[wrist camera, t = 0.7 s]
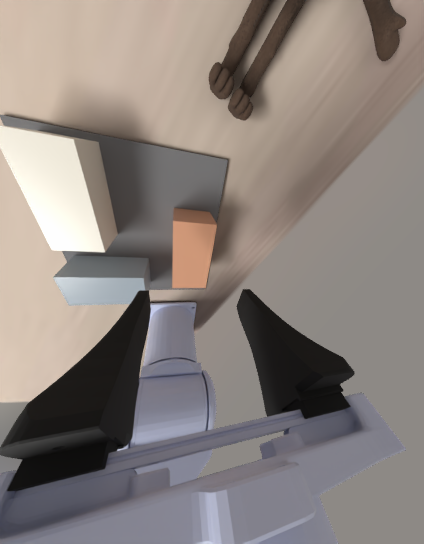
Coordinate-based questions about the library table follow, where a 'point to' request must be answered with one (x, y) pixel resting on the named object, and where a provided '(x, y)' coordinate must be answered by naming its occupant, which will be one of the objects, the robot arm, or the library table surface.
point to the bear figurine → (221, 74)
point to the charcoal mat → (147, 194)
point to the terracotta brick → (192, 247)
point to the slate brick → (103, 279)
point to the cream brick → (62, 187)
